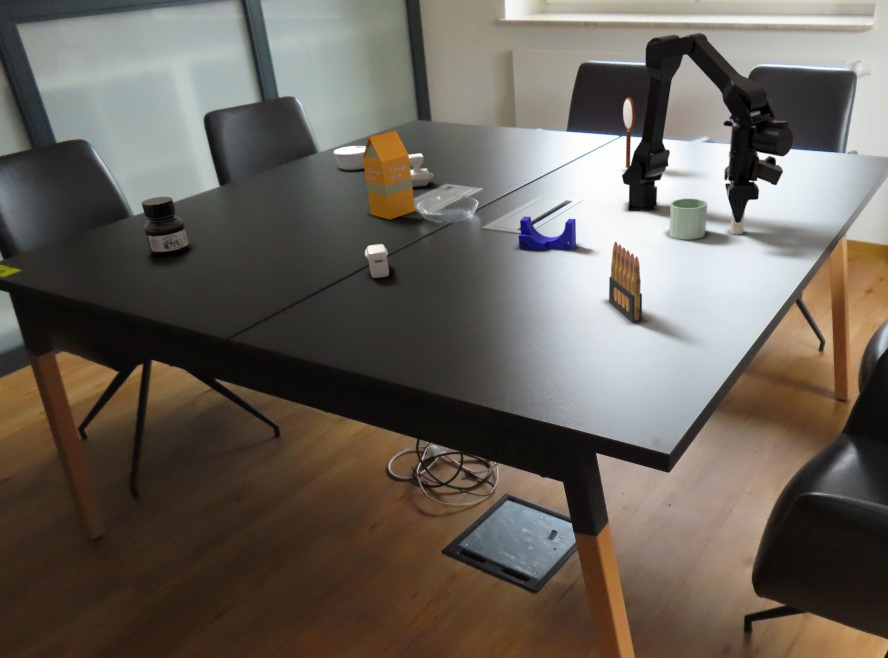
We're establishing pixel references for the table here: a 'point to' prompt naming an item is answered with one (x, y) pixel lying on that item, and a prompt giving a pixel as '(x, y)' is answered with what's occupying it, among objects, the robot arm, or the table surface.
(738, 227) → the glue stick
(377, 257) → the power adapter
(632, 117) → the magnifying glass
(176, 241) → the ink bottle
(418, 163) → the stamp
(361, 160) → the ramekin
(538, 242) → the blue mounting bracket
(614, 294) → the ammunition clip
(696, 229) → the pen holder
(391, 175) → the orange juice
